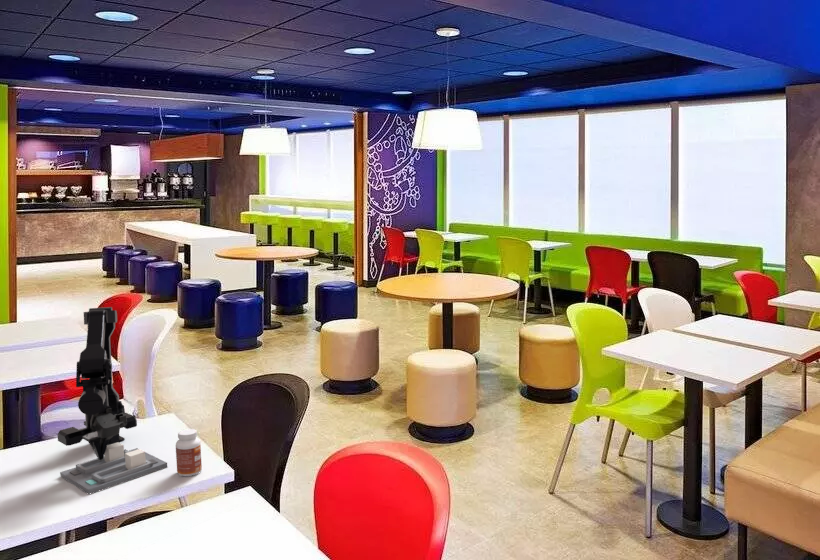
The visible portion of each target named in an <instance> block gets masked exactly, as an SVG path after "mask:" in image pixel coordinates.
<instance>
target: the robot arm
mask: <svg viewBox="0 0 820 560" xmlns="http://www.w3.org/2000/svg"><path fill="white" fill-rule="evenodd" d="M117 312H118V311H117V310H116V309H115V310H114V309H113V306H107V307H105V306H103V307H93V308H92V307H90V308H88V311H83V325H86V326H87V334H86V344H85V345H86V346H85V348H84V349H83V350H82V351H81V352H80V353H79V360H77V361H76V370H75V371H76V374H75V375H76V376H75V388H82V393H81V395H80V398H79V400H78V403H77V408H78V409H79V411H80V412H81V413H82V414H84V415H85V417H84V418H85V419H84V420H85V421H83V425H84V428H80V429H78V428H76V427H75V426H71V427H67V428H63V429H60V430H59V431H58V433H57V442H60V443H61V444H62V445H64V446H72V445H76V444H80V443H82V440H84V441H86V442H87V443H88V444H89V445H90V447H91V449H92V451H93V453H94V454H95V455H96V458H98V459H99V460H102V459H103V457H104V454H105V451H106V448H107V445H111V444H114V443H117V442H118V443H120V442H121V441H125V440H126V438H125V437H123V436H121V435H120V430H121V429H123V428H125V429H127V430H129V429H133V428H136V427H137V426H138V420H137V418H136V416H134V415H132V414H130V413H128V412H126V410H125V406H124V405H123V403H122V400H120V395H119V393H118V392H117V391H116V389H115V388H114V385H113V383H114V382H113V364H112V350H111V348H112V347H111V336H112V335H113V333H114V330H115V329H116V323H117V324H118V313H117Z"/></svg>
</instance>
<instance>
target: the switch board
mask: <svg viewBox="0 0 820 560" xmlns="http://www.w3.org/2000/svg"><path fill="white" fill-rule="evenodd" d="M138 449H139V448H138V447H136V448H133V449H129V450H128V449H126V448H124V457H121V458H118V459H115V460H112V461H109V462H106V461H105V458H104V457H103V459H102V460H99V459H98V458H97V457H96V458H92V459H90V460H87V461H84V462H80V463H77V464H75V467H72V468H69V469H66V470H64V471H63V470H62V471H60V473H59V477H60V478H62V479H64V480H65V481H67V483H70V484H71V485H73V486H75V487H76V488H78V489H79V490H81V491H83V492H84V493H86V494H87V493H88V494H87V495H91V494H94V493H96V491H97V492H100V491H103V490H105V488H106V489H108V487H109V488H112V487H114V486H118V485H120V484H123V483H126V482H128V481H131V480H134V479H137V478H140V477H144V476H146V475H149V474H152V473H154V472H157V471H159V470H160V471H161V470H163V469H165V468H168V462H166V461H164V460H162V459H160V458H158V457H156V456H154V455H152V454H150V453H148V452H146V451H145V458H146V464H143V465H140V466H137V467H134V468H131V469H127V468H126V463H125V453H128V452H131V451H135V450H138ZM102 489H103V490H102ZM99 490H100V491H99ZM93 492H94V493H93ZM90 493H91V494H90Z"/></svg>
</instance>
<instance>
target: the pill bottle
mask: <svg viewBox="0 0 820 560" xmlns="http://www.w3.org/2000/svg"><path fill="white" fill-rule="evenodd" d="M197 436H198V432H197V429H195V428H186V429H181V430H179V431H178V432H177V438H178V440H176V443H175V455H176V456H175V457H176V458H175V459H176V460H175V461H176V471H177V474H178V476H180V477H192V476H191V475H193V476H196V475H198V474H200V473H201V472H202V470H203V469H202V466H203V465H202V448H201V446H202V445H201V440H200V438H198V437H197ZM199 472H200V473H199ZM195 474H196V475H195Z"/></svg>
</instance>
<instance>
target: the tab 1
mask: <svg viewBox="0 0 820 560" xmlns="http://www.w3.org/2000/svg"><path fill="white" fill-rule="evenodd" d="M124 450H125V447H124V444H122V443H121V442H116V443H113V444H109V445H107V448H106V451H105V454H104V458H105V461H106V462H109V461H112V460H115V459H118V458H121V457H124Z"/></svg>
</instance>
